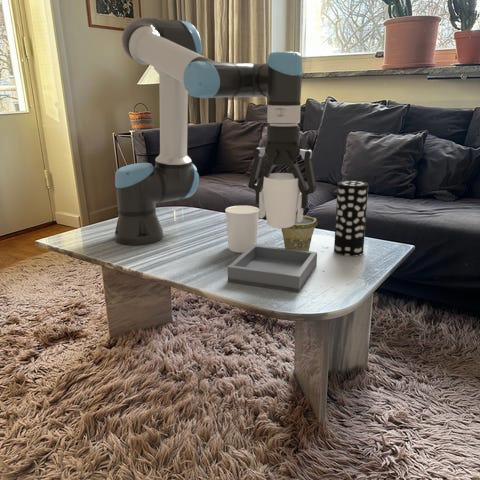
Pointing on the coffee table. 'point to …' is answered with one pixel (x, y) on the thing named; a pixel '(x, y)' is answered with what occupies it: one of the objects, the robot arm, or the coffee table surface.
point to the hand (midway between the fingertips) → (280, 218)
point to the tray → (273, 268)
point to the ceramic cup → (299, 234)
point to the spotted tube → (350, 217)
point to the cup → (281, 199)
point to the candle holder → (242, 227)
